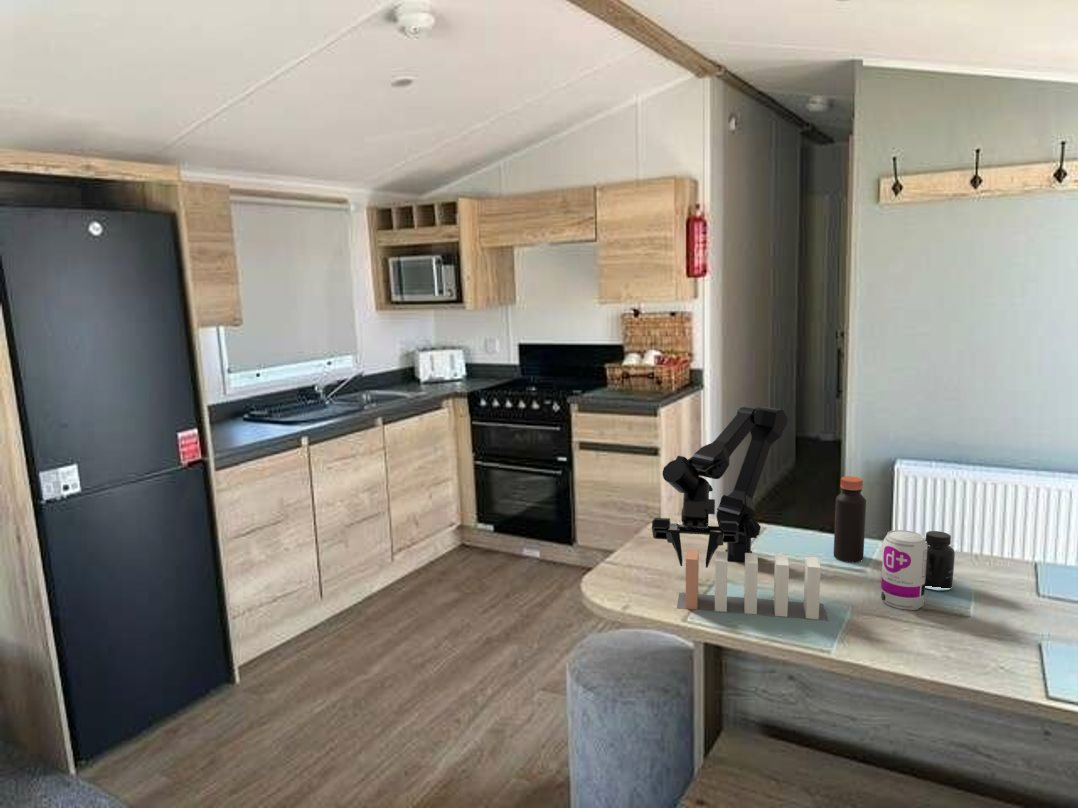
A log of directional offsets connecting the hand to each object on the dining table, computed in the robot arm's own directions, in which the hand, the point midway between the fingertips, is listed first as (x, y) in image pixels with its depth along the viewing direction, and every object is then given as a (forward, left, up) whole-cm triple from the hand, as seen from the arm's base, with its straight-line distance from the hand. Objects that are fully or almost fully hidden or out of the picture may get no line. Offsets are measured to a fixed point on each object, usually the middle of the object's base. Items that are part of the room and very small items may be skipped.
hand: (693, 566), depth 162 cm
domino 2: (+3, +12, -7) cm, 14 cm away
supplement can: (-6, +43, -8) cm, 44 cm away
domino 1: (+3, +6, -7) cm, 10 cm away
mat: (+2, +12, -7) cm, 14 cm away
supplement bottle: (-17, +52, -8) cm, 55 cm away
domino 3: (+3, +18, -7) cm, 20 cm away
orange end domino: (+4, 0, -7) cm, 8 cm away
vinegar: (-31, +36, -8) cm, 48 cm away
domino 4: (+3, +24, -7) cm, 25 cm away
